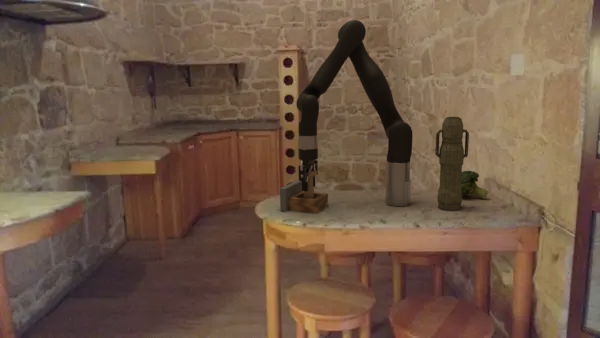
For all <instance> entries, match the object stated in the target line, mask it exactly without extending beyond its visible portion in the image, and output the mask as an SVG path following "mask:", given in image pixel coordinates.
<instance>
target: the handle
mask: <svg viewBox="0 0 600 338" xmlns="http://www.w3.org/2000/svg"><path fill="white" fill-rule="evenodd" d="M316 174H317V170H313V171H311V173H310V176H309V177H308V181H307V182H308V191H304V198H308V199H314V190H315V189H314V187H313V176H315V175H316ZM316 176H317V175H316Z"/></svg>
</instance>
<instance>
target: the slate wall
mask: <svg viewBox="0 0 600 338" xmlns="http://www.w3.org/2000/svg"><path fill="white" fill-rule="evenodd" d="M300 191H301V192H303V191H302V181H299V179H296V180H294V181H293V182H290V183H289V184H287V185H284V186H282V187H280V188H279V204H280V206H279V207H280V212H285V213H287V212H289V211H288V198H289V197H291V196H293V195H295V194H296V193H298V192H300Z"/></svg>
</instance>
